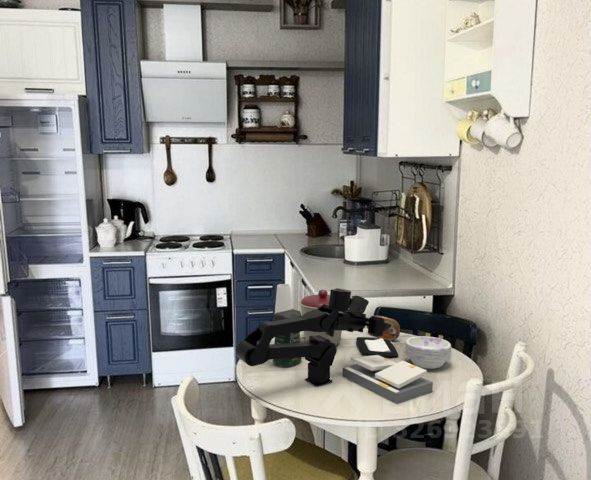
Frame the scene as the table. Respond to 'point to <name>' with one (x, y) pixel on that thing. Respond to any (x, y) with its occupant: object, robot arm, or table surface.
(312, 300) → the canister
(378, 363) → the rocker left
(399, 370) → the rocker right
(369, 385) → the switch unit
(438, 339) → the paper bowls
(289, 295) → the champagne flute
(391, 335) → the tin
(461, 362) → the table surface
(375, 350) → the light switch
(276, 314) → the coffee jar
